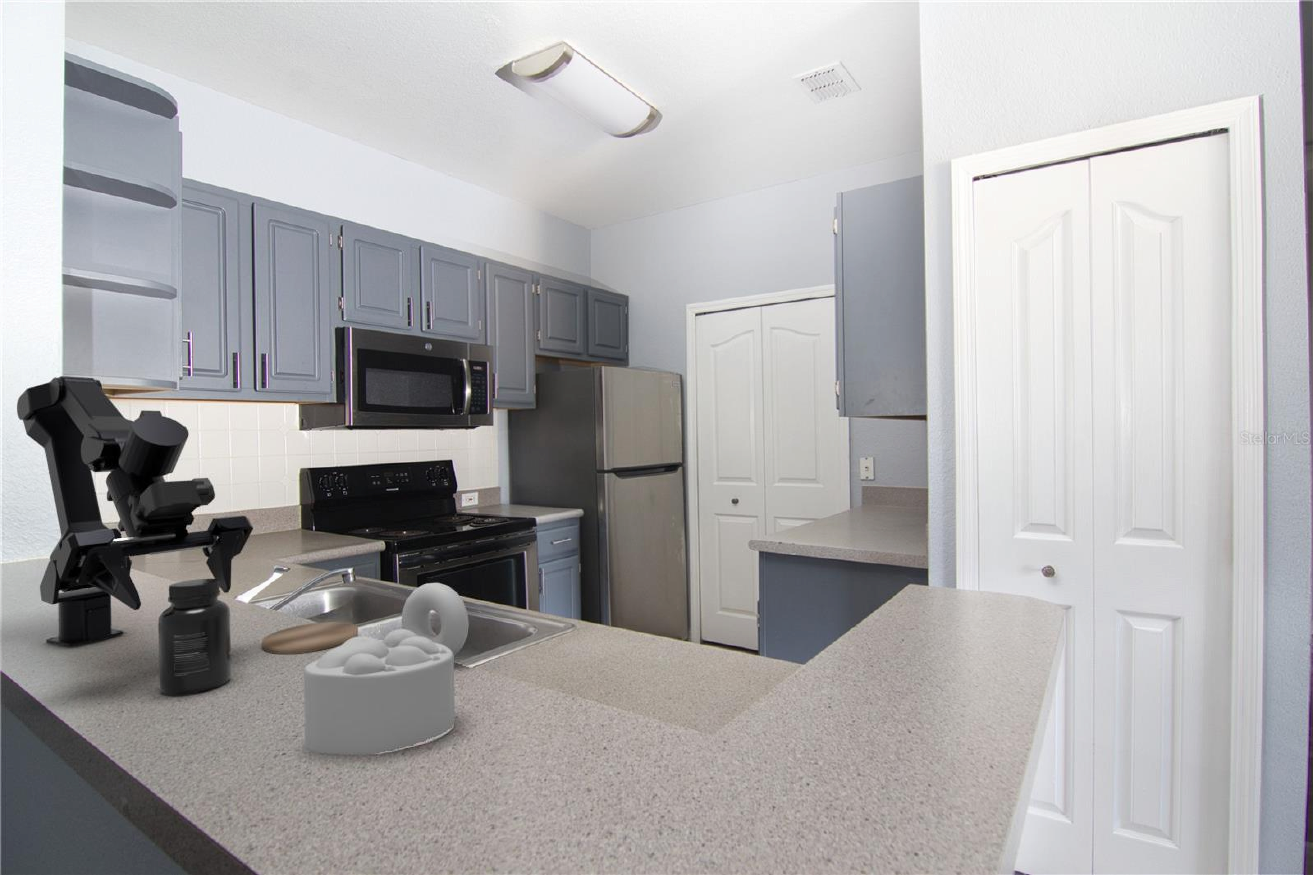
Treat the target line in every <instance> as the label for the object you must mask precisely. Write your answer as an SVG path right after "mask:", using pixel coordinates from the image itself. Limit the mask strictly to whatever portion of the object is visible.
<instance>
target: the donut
mask: <svg viewBox="0 0 1313 875" xmlns="http://www.w3.org/2000/svg"><path fill="white" fill-rule="evenodd" d="M464 602H465V601H463V599H462V598H461V596H460V595H459V593H458V592H457V591H455V590H454V589H453V588H452V587H450V586H448V585H446V584H443V583H440V582H430V583H429V582H427V583H425V584H422V585H420V586H418V587H417V588H416V589H414V590H413V591H412V592H411V594H410V595H409V596H408V597H407V599H406V601H405V603H404V606H403V608H402V614H401V629H406V630H410V631H412V632H413V633H415V634H416V635H417V636H421V637H425V638H428V639H430V640H431V641H432V642H434V643H438V644H441V645H444V646H446V647H448V648H449V649H450V650H451V651H452V653H453V656H454V657H455V656H456V655H457V654H458V653H459V652H460V651H461V649H462V648H463V647H464V644H465V642H466V640H467V637H468V633H469V623H470V622H469V616H468V610H467V608H466V606H465V603H464ZM432 610H433V611H434V612H435V613H436V614H437V616H438V618H439V620H440V631H439V633H438V634H437V633H436V632H434V630H433V629H432V626H431V624H430V614H431V611H432Z"/></svg>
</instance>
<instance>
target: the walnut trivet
mask: <svg viewBox="0 0 1313 875" xmlns="http://www.w3.org/2000/svg"><path fill="white" fill-rule="evenodd" d="M358 635H359V628H358V626H357V625H356V624H354V623H350V622H342V621H340V622H339V621H327V622H315V623H308V624H301V625H296V626H291V627H287V628H285V629H281V630H280V629H279V630H278V631H275V632H272V633H270V634H268V635H266V636H265V637H264V638H263V639H262V640H261V648H262V651H265V652H266V653H268V654H269V653H270V654H275V655H276V654H279V655H291V654H292V655H294V654H308V653H314V652H319V651H323V650H324V651H325V650H328V649H334V648H337V647H339V646H341V645H342V644H343V643H345V642H346V641H347V640H349V639H351V638H353V637H358Z"/></svg>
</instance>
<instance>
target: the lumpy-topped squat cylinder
mask: <svg viewBox="0 0 1313 875" xmlns="http://www.w3.org/2000/svg"><path fill="white" fill-rule="evenodd" d="M454 657H455V656H453V653H452V651H451V650H450V649H449V648H448V647H446V646H444V645H441V644H438V643H434V642H432V641H431V640H430V639H428V638H425V637H421V636H417V635H416V634H415V633H413V632H412V631H410V630H406V629H402V628H399V629H394V630H392V631H390V632H389V633H387V634H386V636H384V638H383V639H378V638H374V637H372V636H371V637H370V636H365V635H363V636H362V635H359V636H358V635H357V637H353V638H351V639H349V640H347V641H346V642H345V643H343V644H342V645H339V646H336V647H333V648H331V649H330V650H328V651H327V652H326V653H324V654H323V655H322V656H321V657H320V658H319V659H317V660H314V661H312V662H311V663H309V664H307V665H306V666H305V667H304V670H303V679H304V680H303V681H304V682H303V684H304V687H303V691H304V692H303V693H304V694H303V696H304V697H303V698H304V700H303V701H304V746H306V747H305V748H306V749H307V750H308V751H311V752H312V751H313V753H317V754H323V753H324V754H325V755H336V756H337V755H339V756H340V755H341V756H370V755H369V754H373V753H374V754H375V753H380V752H385V751H393V750H395V749H399V748H403V747H406V746H413V745H414V744H416V743H419V742H424V741H426V740H427V739H430V738H432V737H436V736H438V735H440V734H442V733H443V732H446V731H447V730H448V729H450V728H452V726H453V725H454V722H455V721H456V720H455V718H456V717H455V716H456V715H455V668H454V667H455V664H454V663H455V662H454V660H455V658H454ZM324 754H323V755H324ZM367 754H368V755H367Z"/></svg>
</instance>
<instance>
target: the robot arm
mask: <svg viewBox="0 0 1313 875" xmlns="http://www.w3.org/2000/svg"><path fill="white" fill-rule="evenodd" d="M16 402H17V404H16V412H17V413H16V414H17V418H18V419H19V420H20V421H22V422H23V425H24V429H25V433H26V435H27V436H28V437H29V438H31V439H32V440H33V441H34V442H36V443H37V444H38V445H39V446H41V447H42V448H43V449H44V453H45V458H46V463H47V469H48V473H49V474H48V475H49V478H50V484H51V488H52V489H51V490H52V495H53V500H54V504H55V509H56V515H57V520H58V526H59V530H60V538H59V540H58V541H57V543H56V545H55V547H54V549H53V550H52V552H51V554H50V555H49V562H48V563H47V566H46V569H45V572H44V574H43V577H42V580H41V582H40V585H39V590H40V591H39V593H40V598H41V599H40V600H41V601H42V602H43V603H47V604H49V605H57V606H58V608H57V611H58V636H53V637H50V638H49V637H48V638H46V639H45V642H46V644H53V645H59V646H63V647H69V648H72V647H77V646H80V645H86V644H89V643H94V642H98V641H102V640H105V639H109V638H113V637H117V636H122V635H123V634H124V630H122V629H115V628H112V597H114V599H116V600H117V601H120V602H121V603H123V604H124V605H126V606H127V607H129V608H130V609H131V610H133V611H139V610H140V608H141V606H142V602H141V598H140V595H139V592H138V590H137V588H136V586H135V584H134V581H133V579H132V577H131V575H130V574H131V568H132V564H133V560H132V559H131V558H130V557H136V556H143V555H149V556H151V555H152V556H153V555H160V554H167V553H174V552H181V551H182V552H183V551H189V550H197V549H202V552H203V554H204V556H205V557H206V558H207V560H206V562H205V563H206V565H207V567H208V569H209V571H210V572H211V574H212V576H213V579H218V580H219V589H221V591H222V592H223V593H224V594H226V593H229V591H230V590H231V587H232V560H233V559H234V557H237V556H238V555H240V554H241V553H242V551H243V549H244V547H245V545H246V543H247V542H248V539H249V538H250V536H251V534H252V532H253V530H254V526H253V525H252V523H251V521H250V519H249V518H248V517H247V516H246V515H233V516H231V515H230V516H223V517H213V518H212V520H211V521H210V523H209V526H208V528H207V530H201V531H200V530H199V531H191V532H188V529H187V526H192V525H193V522H194V520H195V516H194V514H193V513H194V511H195V510H196V509H197V508H200V507H202V506H203V507H204V506H208V505H209V504H211V503H212V501H214V500H215V497H216V493H215V488H214V486H213V484H212V482H211V480H210V479H209V477H197V478H192V480H190V479H189V480H173V481H170V480H169V481H166V480H165V478H164V476H166V475H169V474H173V473H174V470H175V469H176V466H177V463H178V461H179V458H180V457H181V454H182V452H183V450H184V448H185V445H186V443H187V440H188V438H189V429H188V428H187V426H185V425H183V424H182V423H180V422H179V421H177V420H175V419H173V418H170V417H167V416H163V415H162V412H161V411H160V410H145V409H144V410H140V413H139V416H138V418H136V419H135V420H130V419H127V418H125V417H124V415H123V414H122V413H121V412H120V411H119V409H118V408H117V407H116V405H115V404H114V403H113V402H112V401H111V400H110V399H109V397H108V396H107V394H106V393H105V392H104V390H103V386H102V383H101V381H100V379H95V378H93V377H85V376H83V377H82V376H66V375H65V376H64V375H62V376H59V377H53V378H52V379H51V381H48V382H46V383H42V384H39V385H36V386H31V387H28V388H26V389H25V390H24V392H22V394H20V396H19V397H18V399H17V401H16ZM93 472H94V473H108V475H107V477H106V478H105V483H106V487H107V492H106V500H107V502H113V505H114V507H115V510H116V512H117V514H118V518H119V522H118V524H117V528H116V527H115V528H109V527H108V526H106V525H105V524H104V522H103V519H102V514H101V510H100V506H99V502H98V496H97V492H96V488H95V486H96V485H95V482H94V478H93ZM122 532H125V535H126V537H122Z"/></svg>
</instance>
